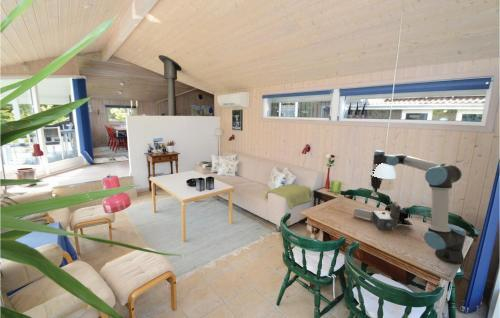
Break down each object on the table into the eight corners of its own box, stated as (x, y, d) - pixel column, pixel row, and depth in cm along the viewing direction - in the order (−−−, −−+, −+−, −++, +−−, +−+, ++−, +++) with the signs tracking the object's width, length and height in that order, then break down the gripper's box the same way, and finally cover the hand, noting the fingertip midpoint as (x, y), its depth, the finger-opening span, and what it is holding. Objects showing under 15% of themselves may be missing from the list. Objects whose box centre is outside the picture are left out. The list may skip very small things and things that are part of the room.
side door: (353, 215, 224) (354, 208, 222) (354, 215, 225) (354, 207, 223) (371, 220, 215) (372, 212, 214) (371, 219, 217) (372, 211, 215)
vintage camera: (412, 229, 201) (416, 207, 197) (392, 227, 204) (396, 205, 199) (407, 224, 210) (411, 203, 206) (388, 222, 213) (392, 201, 209)
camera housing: (393, 231, 197) (395, 220, 195) (379, 229, 199) (380, 218, 197) (384, 220, 215) (386, 210, 213) (371, 219, 217) (372, 209, 215)
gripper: (386, 170, 194) (383, 197, 199) (376, 167, 207) (373, 192, 212) (378, 170, 193) (375, 198, 198) (368, 167, 206) (365, 193, 211)
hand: (374, 195), depth 205 cm, fingers closed
